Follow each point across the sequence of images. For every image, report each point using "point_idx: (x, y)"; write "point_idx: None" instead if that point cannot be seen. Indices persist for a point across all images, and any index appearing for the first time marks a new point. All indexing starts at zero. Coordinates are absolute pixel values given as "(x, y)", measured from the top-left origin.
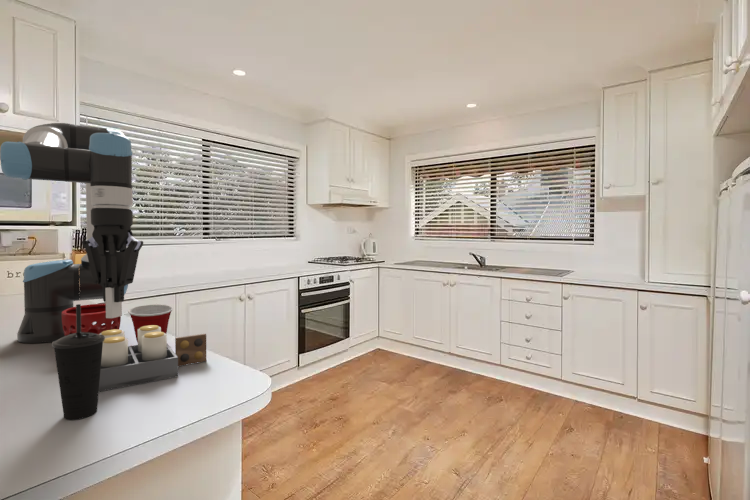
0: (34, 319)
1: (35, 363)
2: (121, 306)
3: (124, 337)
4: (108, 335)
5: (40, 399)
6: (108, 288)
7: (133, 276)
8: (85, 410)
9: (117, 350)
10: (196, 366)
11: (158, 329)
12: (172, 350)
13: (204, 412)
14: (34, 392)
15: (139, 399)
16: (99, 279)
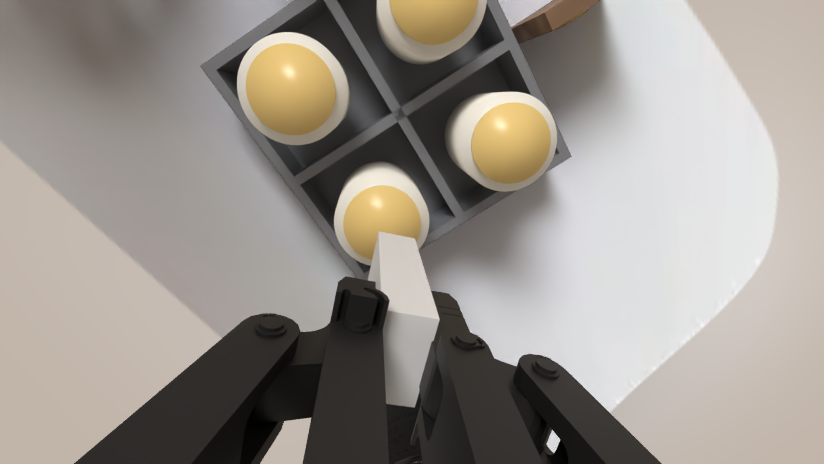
0: None
1: None
2: (420, 259)
3: (412, 204)
4: (303, 134)
5: (259, 294)
6: (386, 399)
7: (597, 409)
8: None
9: None
10: (576, 47)
11: (483, 13)
12: (528, 67)
13: (649, 355)
14: (203, 252)
15: (497, 296)
16: (279, 425)
